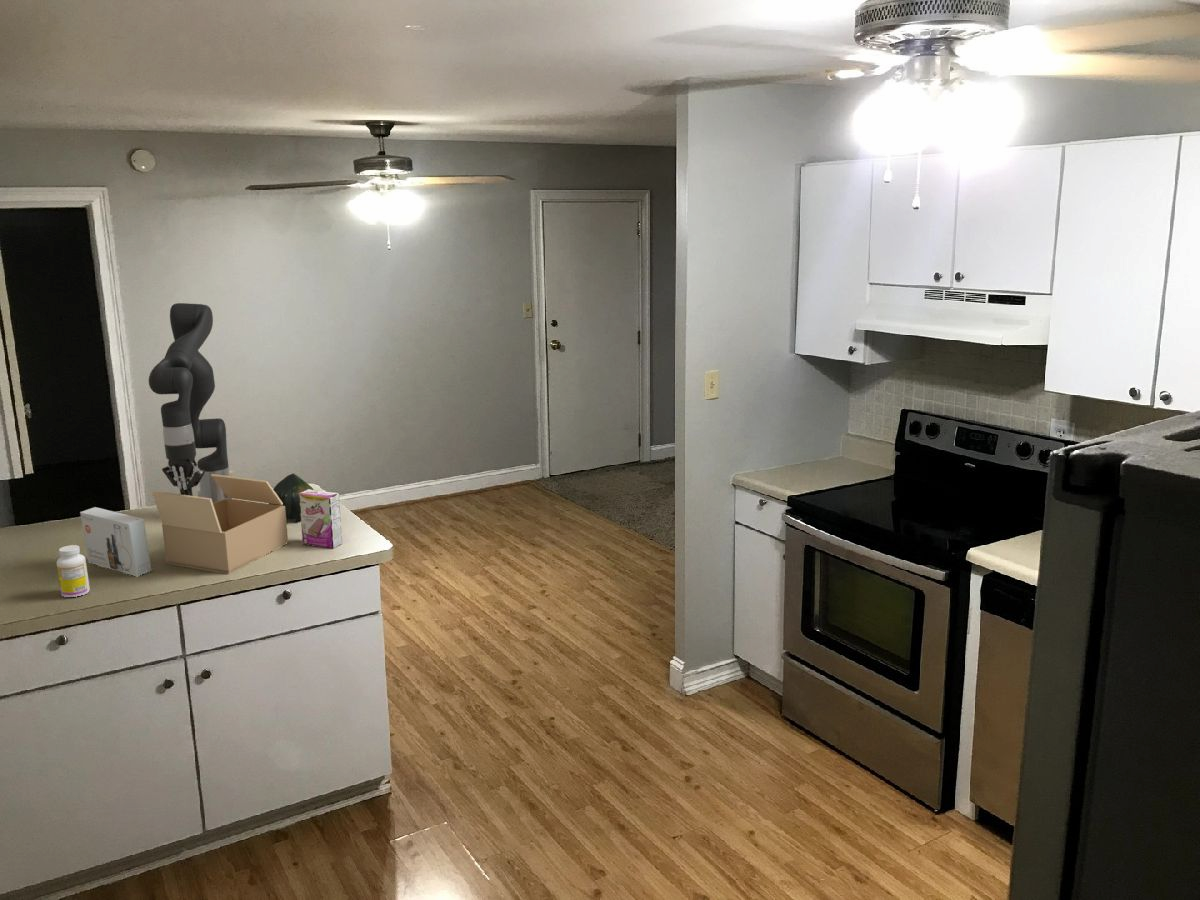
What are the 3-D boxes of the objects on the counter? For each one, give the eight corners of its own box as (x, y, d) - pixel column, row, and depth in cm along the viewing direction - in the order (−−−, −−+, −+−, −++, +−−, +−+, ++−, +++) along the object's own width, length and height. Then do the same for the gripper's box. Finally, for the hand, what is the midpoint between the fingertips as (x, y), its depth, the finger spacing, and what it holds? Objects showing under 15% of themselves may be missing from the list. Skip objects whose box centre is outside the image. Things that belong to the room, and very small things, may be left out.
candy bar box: (301, 545, 284) (297, 493, 280) (311, 539, 289) (307, 488, 284) (333, 549, 280) (329, 497, 276) (343, 544, 285) (339, 492, 281)
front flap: (164, 523, 265) (163, 524, 265) (153, 490, 260) (151, 491, 260) (221, 532, 259) (220, 533, 258) (211, 498, 254) (209, 499, 253)
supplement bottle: (68, 589, 251) (61, 543, 248) (94, 588, 251) (88, 543, 248) (56, 599, 244) (49, 552, 241) (83, 598, 245) (76, 552, 242)
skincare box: (86, 564, 268) (78, 511, 264) (103, 558, 273) (96, 506, 269) (135, 578, 258) (128, 523, 254) (152, 571, 263) (146, 517, 259)
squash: (284, 513, 295) (305, 471, 301) (252, 507, 303) (274, 466, 309) (313, 532, 306) (333, 491, 312) (282, 526, 314) (302, 486, 320)
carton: (166, 563, 269) (161, 523, 266) (229, 535, 292) (225, 498, 289) (229, 574, 262) (224, 533, 259) (288, 543, 285) (285, 506, 282)
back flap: (210, 475, 281) (211, 473, 281) (228, 497, 289) (229, 496, 289) (266, 482, 274) (267, 480, 275) (282, 505, 282) (283, 503, 282)
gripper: (149, 442, 253) (158, 503, 258) (188, 446, 249) (196, 508, 253) (170, 435, 260) (178, 494, 264) (208, 439, 255) (216, 499, 260)
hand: (187, 501), depth 259 cm, fingers closed
